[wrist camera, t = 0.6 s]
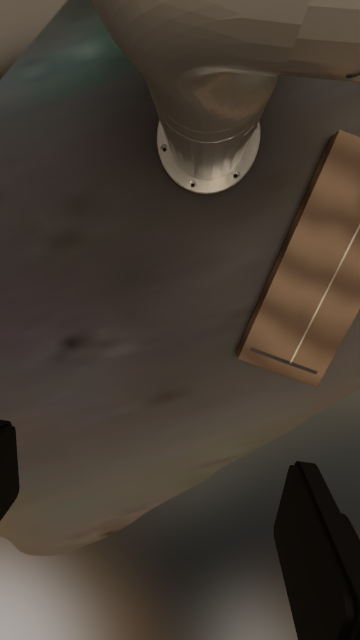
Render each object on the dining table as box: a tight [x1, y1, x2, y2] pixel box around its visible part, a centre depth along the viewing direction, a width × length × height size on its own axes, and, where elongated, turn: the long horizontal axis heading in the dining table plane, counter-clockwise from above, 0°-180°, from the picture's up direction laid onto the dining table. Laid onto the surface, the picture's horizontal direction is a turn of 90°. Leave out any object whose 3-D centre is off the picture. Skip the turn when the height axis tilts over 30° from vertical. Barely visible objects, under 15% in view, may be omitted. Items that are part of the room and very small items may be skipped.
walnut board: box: [236, 130, 360, 387], centre depth 38 cm, size 30×12×3 cm, turn 161°
